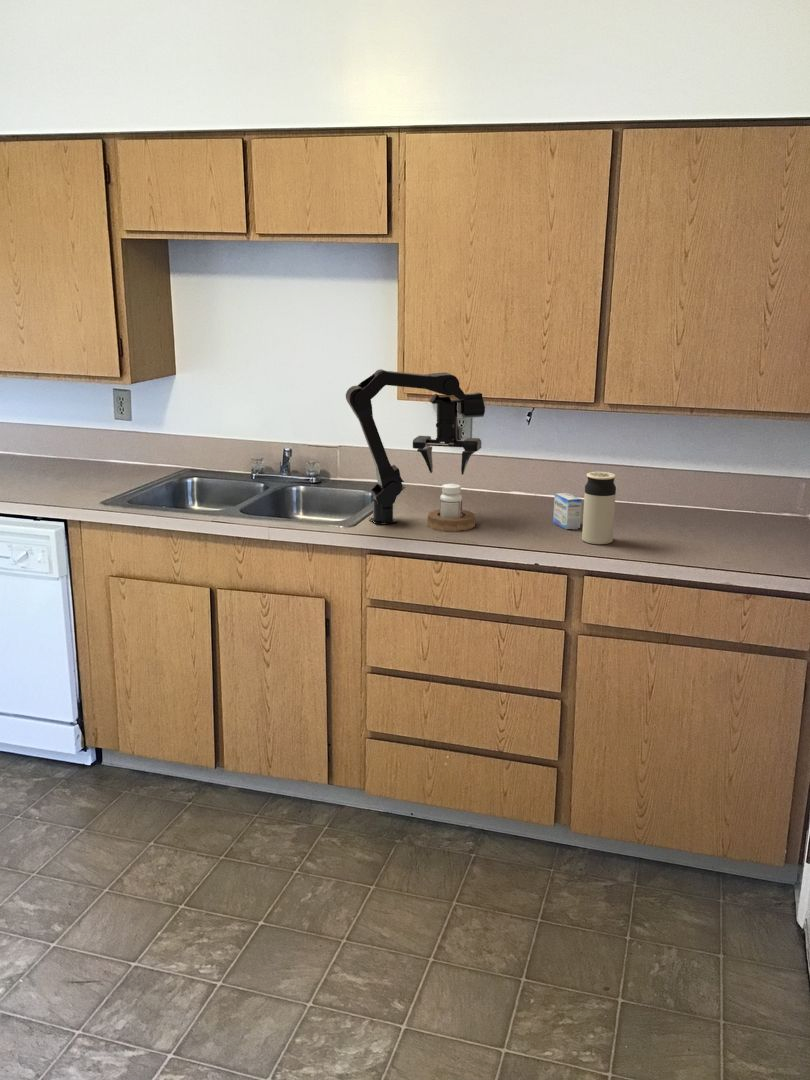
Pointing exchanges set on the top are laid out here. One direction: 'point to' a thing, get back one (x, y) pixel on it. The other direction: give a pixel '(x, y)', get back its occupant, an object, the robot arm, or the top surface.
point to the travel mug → (599, 508)
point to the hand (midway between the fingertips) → (446, 473)
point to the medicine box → (567, 511)
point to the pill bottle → (451, 501)
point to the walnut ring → (451, 521)
